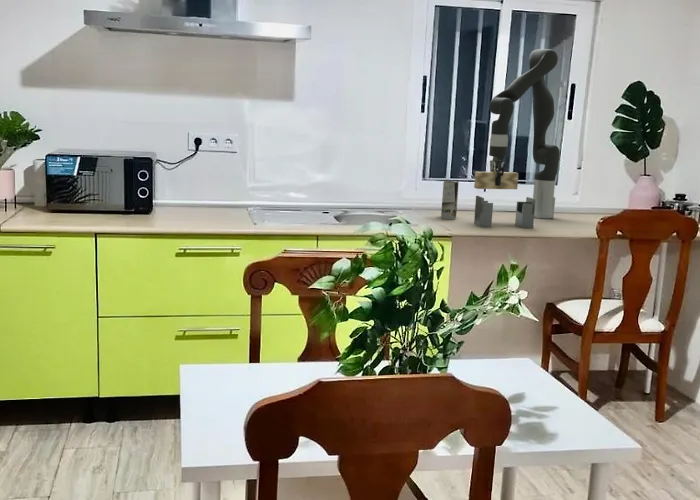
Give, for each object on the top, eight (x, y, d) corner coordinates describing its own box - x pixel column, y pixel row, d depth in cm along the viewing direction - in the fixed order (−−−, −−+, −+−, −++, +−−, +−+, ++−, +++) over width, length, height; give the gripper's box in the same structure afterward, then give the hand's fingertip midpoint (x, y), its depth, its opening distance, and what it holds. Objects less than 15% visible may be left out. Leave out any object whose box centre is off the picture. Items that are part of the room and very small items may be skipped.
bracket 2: (526, 225, 321) (528, 197, 318) (533, 228, 313) (535, 199, 311) (515, 224, 320) (517, 196, 318) (521, 227, 312) (524, 199, 310)
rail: (514, 188, 329) (515, 172, 328) (517, 189, 326) (518, 173, 324) (474, 187, 327) (475, 171, 326) (476, 188, 323) (477, 172, 322)
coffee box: (455, 219, 328) (457, 182, 325) (440, 218, 330) (442, 181, 327) (456, 216, 337) (459, 180, 334) (442, 215, 338) (444, 180, 335)
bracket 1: (479, 227, 310) (481, 198, 308) (473, 224, 318) (476, 195, 315) (491, 227, 311) (493, 198, 308) (485, 224, 318) (487, 196, 316)
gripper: (512, 146, 316) (509, 187, 320) (501, 144, 330) (499, 183, 334) (495, 146, 315) (492, 186, 319) (485, 143, 329) (482, 183, 333)
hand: (495, 184), depth 326 cm, fingers closed on rail, 4 cm apart
